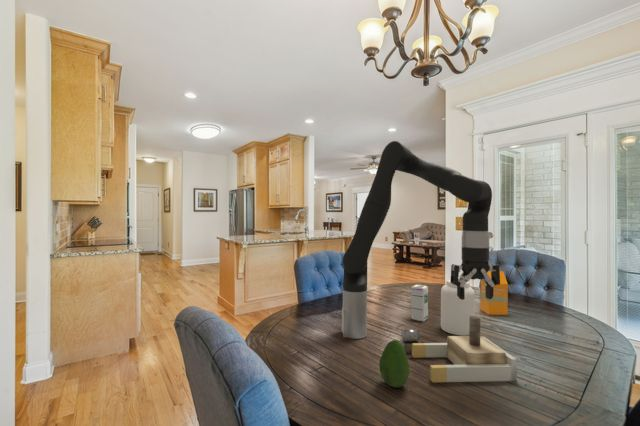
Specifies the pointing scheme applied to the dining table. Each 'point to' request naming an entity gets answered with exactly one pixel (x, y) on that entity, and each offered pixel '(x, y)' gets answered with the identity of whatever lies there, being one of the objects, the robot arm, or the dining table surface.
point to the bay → (464, 366)
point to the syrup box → (419, 302)
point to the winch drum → (409, 339)
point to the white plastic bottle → (456, 309)
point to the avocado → (394, 364)
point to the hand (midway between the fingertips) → (475, 298)
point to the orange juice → (495, 297)
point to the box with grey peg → (473, 347)
